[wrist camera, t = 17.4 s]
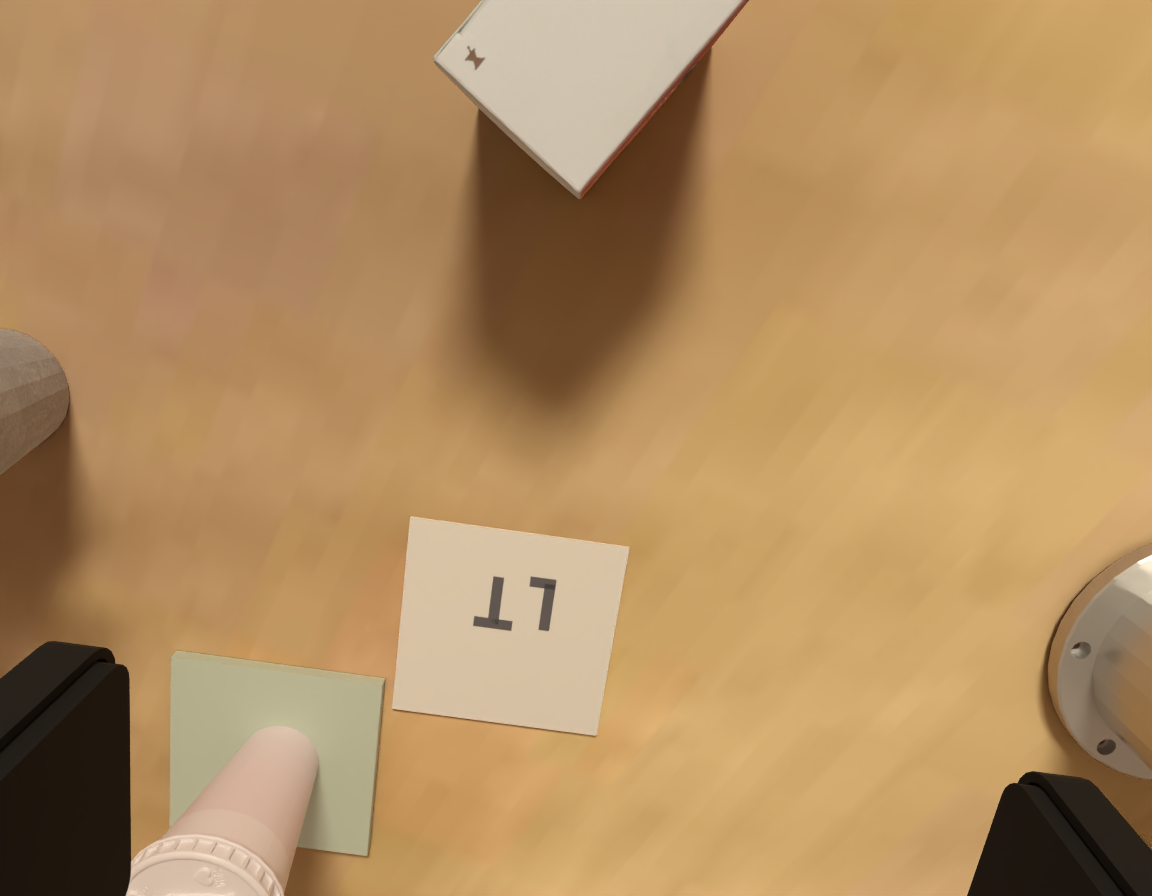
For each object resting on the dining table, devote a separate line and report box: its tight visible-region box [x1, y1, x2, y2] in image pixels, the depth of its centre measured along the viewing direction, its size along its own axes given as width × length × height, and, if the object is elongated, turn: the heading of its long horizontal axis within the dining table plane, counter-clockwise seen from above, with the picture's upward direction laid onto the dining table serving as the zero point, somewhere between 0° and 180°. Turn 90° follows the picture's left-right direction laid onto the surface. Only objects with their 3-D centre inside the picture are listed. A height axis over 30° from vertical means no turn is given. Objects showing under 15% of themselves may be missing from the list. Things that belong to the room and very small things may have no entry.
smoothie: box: [126, 726, 319, 896], centre depth 35 cm, size 6×6×14 cm
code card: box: [392, 516, 629, 736], centre depth 40 cm, size 10×10×1 cm
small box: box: [433, 0, 749, 199], centre depth 28 cm, size 8×6×10 cm
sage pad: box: [170, 650, 385, 856], centre depth 42 cm, size 10×10×1 cm
